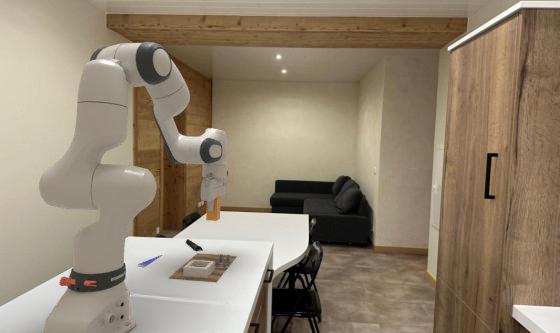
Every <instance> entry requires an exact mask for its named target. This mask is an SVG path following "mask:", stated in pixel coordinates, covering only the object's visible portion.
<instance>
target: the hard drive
mask: <svg viewBox="0 0 560 333" xmlns="http://www.w3.org/2000/svg"><path fill="white" fill-rule="evenodd" d="M162 256H163V254H160V255H157V256H155V257H153V258H150V259H147V260H145V261H142V262H139V263H138V264H137V267H139V268H147V266H149V265H150V264H151V263H153V262H155V261H157V260H158V259H160V258H161V257H162Z"/></svg>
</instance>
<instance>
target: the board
mask: <svg viewBox="0 0 560 333" xmlns="http://www.w3.org/2000/svg"><path fill="white" fill-rule="evenodd" d="M236 258H238V256H236V255H231V254H226V255H225V254H222V253H221V254H220V253H219V254H215V253H213V254H212V253H211V254H210V253H200V252H197V253H196V254H195V255H194V256H192V258H190V259H189V260H188V261H186V262H185V263H184V264H183V265H182V266H181V267H180V268H178V269H177V270H176V271H175V272H174V273H172V274H171V275H170V276H169V277H168V279H170V280H180V281H181V280H182V281H184V280H185V281H195V282H205V283H217V282H218V281H219V280H221V278H222V276H223V275H224V274H225V273H226V272H227V270H228V268H230V266H231V265H232V263H233V262H234V261H235V260H236ZM191 260H204V261H215V266H214V271H213V272H212V273H211V274H210V275H209V277H208V278H201V277H189V276H183V275H184V266H185V265H187V264H188V263H189V262H190V261H191Z"/></svg>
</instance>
